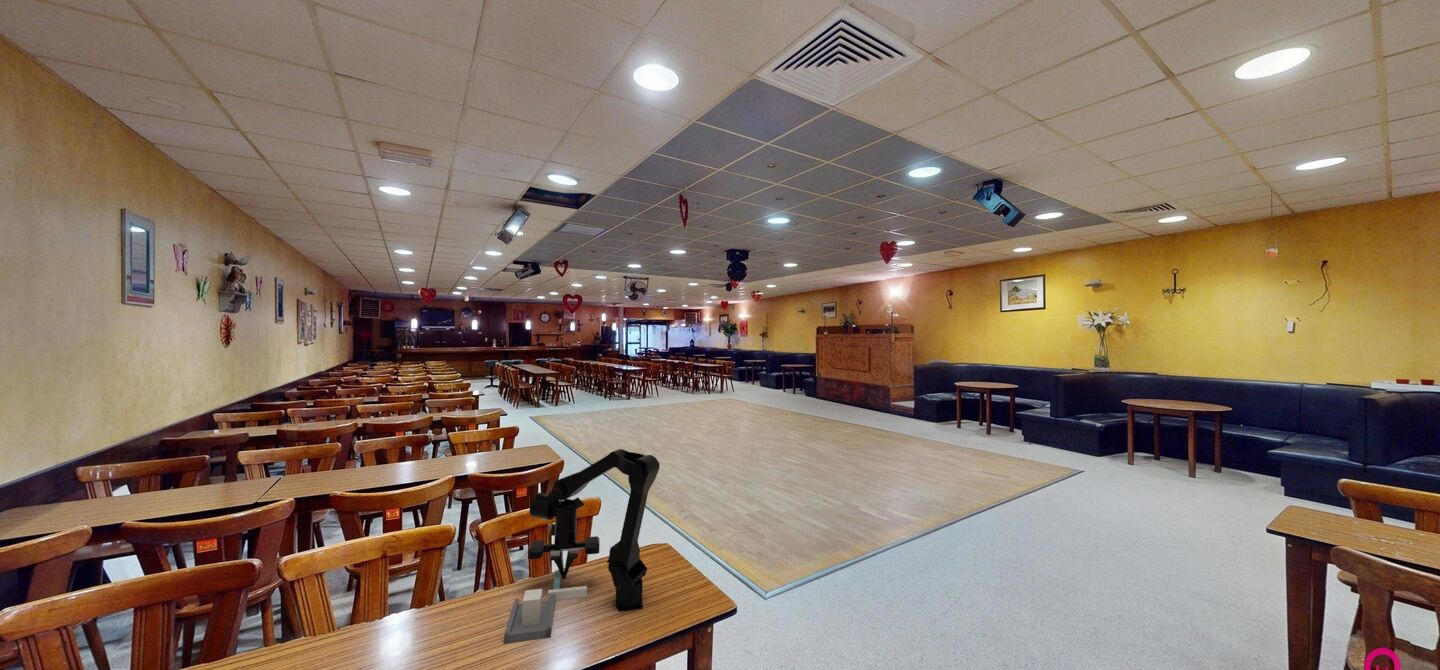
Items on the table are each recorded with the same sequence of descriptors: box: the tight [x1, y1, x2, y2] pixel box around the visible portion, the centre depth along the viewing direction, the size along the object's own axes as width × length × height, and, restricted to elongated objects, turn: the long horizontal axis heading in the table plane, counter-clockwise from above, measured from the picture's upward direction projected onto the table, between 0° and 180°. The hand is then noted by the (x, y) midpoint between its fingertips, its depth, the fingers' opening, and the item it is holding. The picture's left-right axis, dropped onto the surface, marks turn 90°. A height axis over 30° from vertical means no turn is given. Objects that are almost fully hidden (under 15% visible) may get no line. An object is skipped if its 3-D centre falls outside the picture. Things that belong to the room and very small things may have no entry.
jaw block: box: [522, 588, 543, 626], centre depth 115 cm, size 4×5×6 cm
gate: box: [547, 569, 588, 601], centre depth 129 cm, size 10×8×4 cm
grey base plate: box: [503, 594, 557, 645], centre depth 115 cm, size 10×16×2 cm, turn 15°
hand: (563, 578), depth 131 cm, fingers closed
